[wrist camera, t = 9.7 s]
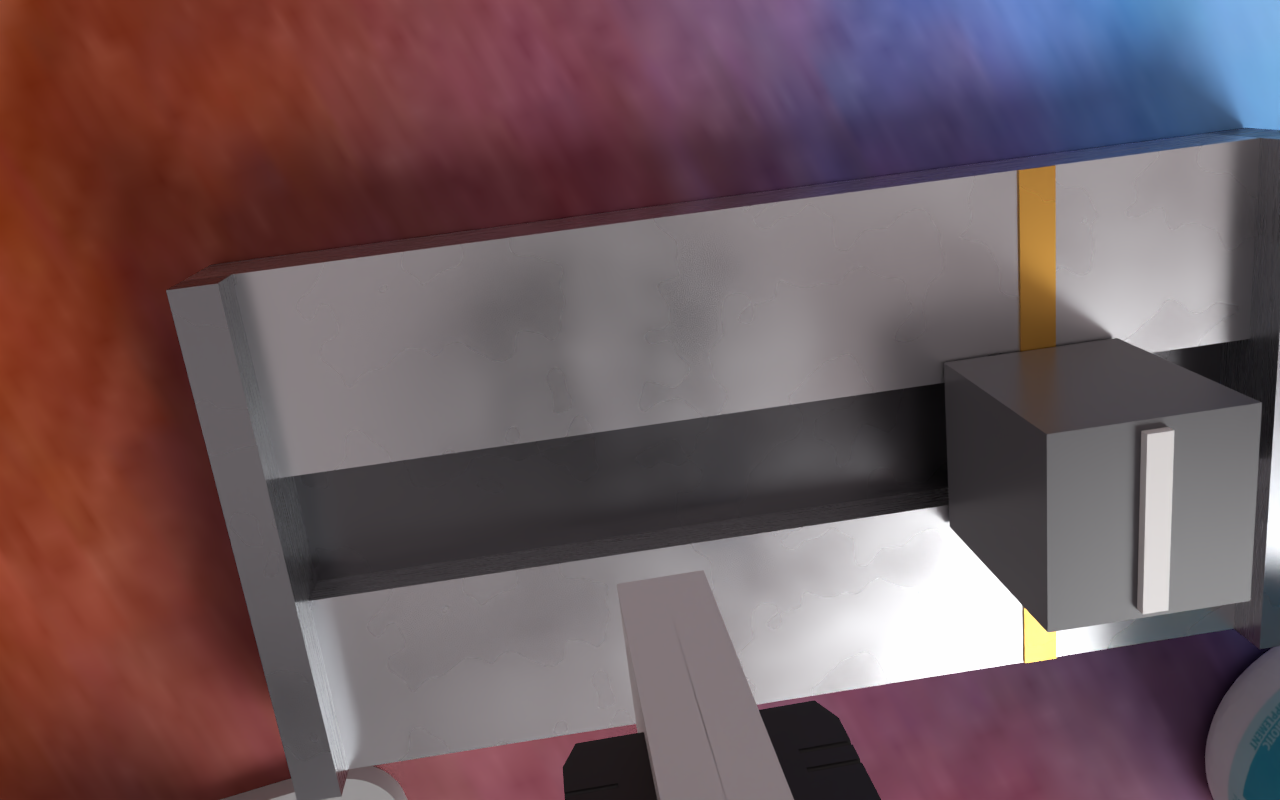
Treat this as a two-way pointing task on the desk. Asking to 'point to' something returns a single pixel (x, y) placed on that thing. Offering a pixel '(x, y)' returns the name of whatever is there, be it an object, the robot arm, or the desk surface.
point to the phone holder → (365, 794)
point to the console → (690, 432)
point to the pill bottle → (1247, 735)
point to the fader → (1102, 481)
